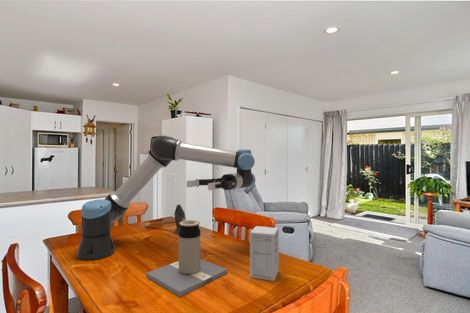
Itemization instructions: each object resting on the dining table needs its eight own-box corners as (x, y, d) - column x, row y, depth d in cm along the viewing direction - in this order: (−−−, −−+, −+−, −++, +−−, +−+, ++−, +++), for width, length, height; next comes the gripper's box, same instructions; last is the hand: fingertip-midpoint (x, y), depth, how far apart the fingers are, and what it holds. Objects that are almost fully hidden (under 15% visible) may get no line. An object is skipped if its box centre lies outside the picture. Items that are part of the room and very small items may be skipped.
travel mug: (181, 276, 93) (181, 226, 93) (176, 267, 101) (177, 220, 100) (202, 272, 96) (203, 223, 96) (197, 264, 104) (197, 218, 104)
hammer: (147, 209, 165) (185, 203, 152) (151, 234, 164) (189, 230, 151) (140, 211, 160) (178, 205, 147) (144, 237, 159) (183, 233, 145)
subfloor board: (146, 277, 96) (146, 272, 96) (192, 259, 113) (192, 255, 113) (179, 296, 83) (179, 291, 83) (227, 273, 99) (227, 269, 99)
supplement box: (279, 270, 102) (279, 227, 102) (275, 281, 93) (275, 234, 93) (255, 267, 105) (255, 225, 105) (249, 277, 96) (249, 231, 96)
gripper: (251, 191, 118) (218, 197, 102) (213, 187, 134) (179, 191, 118) (251, 175, 118) (218, 178, 102) (213, 172, 134) (179, 174, 118)
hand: (197, 185), depth 110 cm, fingers open, 13 cm apart
